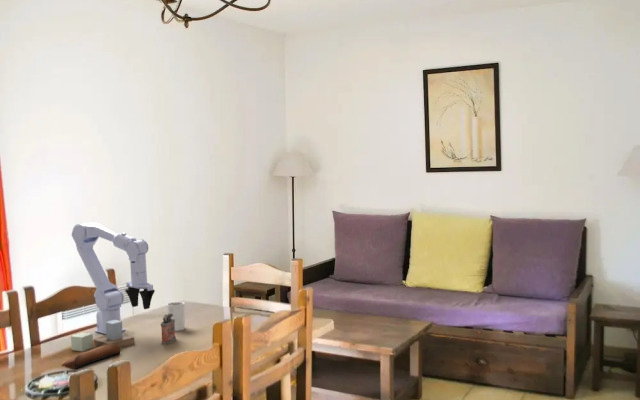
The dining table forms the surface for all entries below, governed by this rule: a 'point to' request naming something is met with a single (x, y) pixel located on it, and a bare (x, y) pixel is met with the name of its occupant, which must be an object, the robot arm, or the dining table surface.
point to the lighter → (168, 329)
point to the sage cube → (82, 341)
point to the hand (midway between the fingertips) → (140, 307)
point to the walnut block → (115, 341)
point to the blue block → (114, 330)
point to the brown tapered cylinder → (92, 356)
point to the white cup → (177, 314)
